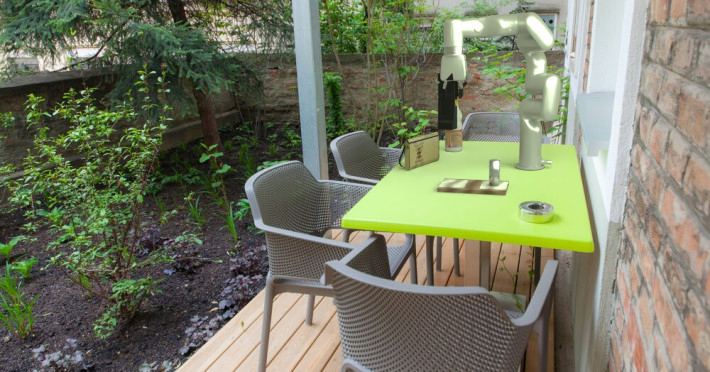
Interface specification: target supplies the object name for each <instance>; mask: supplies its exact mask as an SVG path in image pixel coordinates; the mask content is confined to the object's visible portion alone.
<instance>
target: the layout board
mask: <svg viewBox="0 0 710 372" xmlns="http://www.w3.org/2000/svg"><path fill="white" fill-rule="evenodd" d="M509 183H510V181H509V180H499V186H489V179H470V178H469V179H467V178H466V179H465V178H444V179H443V180H442V181H441V183H440V184H439V185H438V186H437V193H448V194H449V193H450V194H453V193H454V194H471V195H493V196H507V192H508V188H509Z"/></svg>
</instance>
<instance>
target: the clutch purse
mask: <svg viewBox="0 0 710 372" xmlns="http://www.w3.org/2000/svg"><path fill="white" fill-rule="evenodd" d="M402 145H403V147H402V150H401V154H400V156H399V158H398V165H399V166H400V167H401V168H405V170H406V171H407V172H408V171H410V170H413V169H416V168H418V167H422V166H424V165H428V164H431V163H434V162H437V161H439V160H440V132H439V131H435V132H431V133H427V134H423V135H420V136H415V137H412V138H408V139H405V140H404V142H403V144H402ZM403 156H404V166H402V163H401V161H402V158H403Z"/></svg>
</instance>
